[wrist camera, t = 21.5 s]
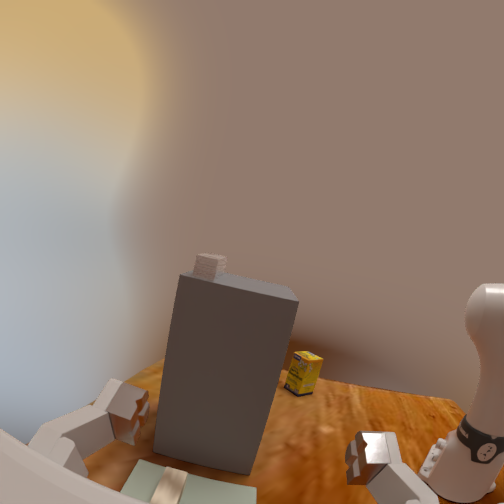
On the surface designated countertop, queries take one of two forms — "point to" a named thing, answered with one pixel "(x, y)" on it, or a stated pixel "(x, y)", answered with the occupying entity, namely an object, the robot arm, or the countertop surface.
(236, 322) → the charcoal stand
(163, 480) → the long maple bar
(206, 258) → the pale wood bar
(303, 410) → the countertop surface
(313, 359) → the supplement box
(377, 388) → the countertop surface
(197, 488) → the sage mat
